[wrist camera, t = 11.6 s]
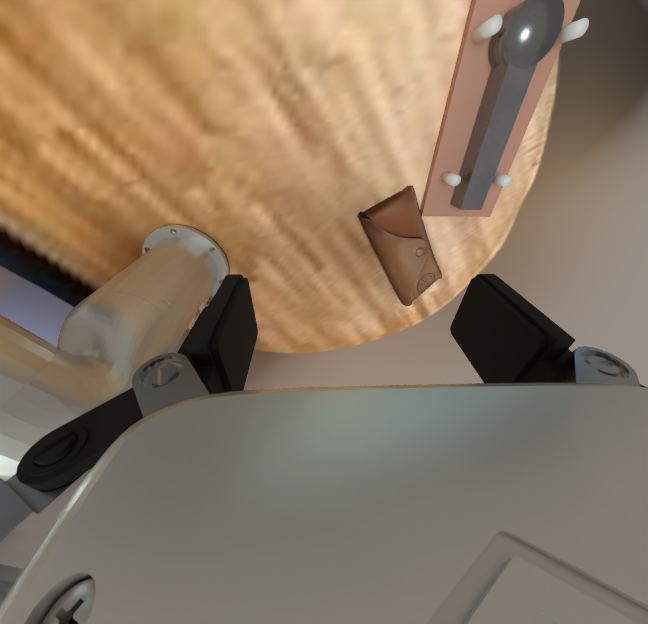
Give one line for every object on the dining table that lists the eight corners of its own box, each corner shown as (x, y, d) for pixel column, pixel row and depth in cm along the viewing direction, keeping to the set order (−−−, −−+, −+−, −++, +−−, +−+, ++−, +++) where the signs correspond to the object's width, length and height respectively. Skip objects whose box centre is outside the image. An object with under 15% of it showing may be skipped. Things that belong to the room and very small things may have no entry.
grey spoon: (476, 203, 34) (488, 209, 32) (442, 203, 34) (452, 209, 32) (550, 4, 23) (576, -10, 21) (500, 3, 23) (522, -11, 21)
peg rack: (486, 214, 36) (502, 223, 33) (419, 213, 36) (429, 222, 33) (585, -31, 23) (630, -56, 20) (480, -36, 22) (508, -63, 19)
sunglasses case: (446, 278, 42) (440, 306, 39) (407, 283, 47) (398, 309, 44) (411, 179, 33) (399, 204, 29) (366, 198, 38) (351, 222, 34)
